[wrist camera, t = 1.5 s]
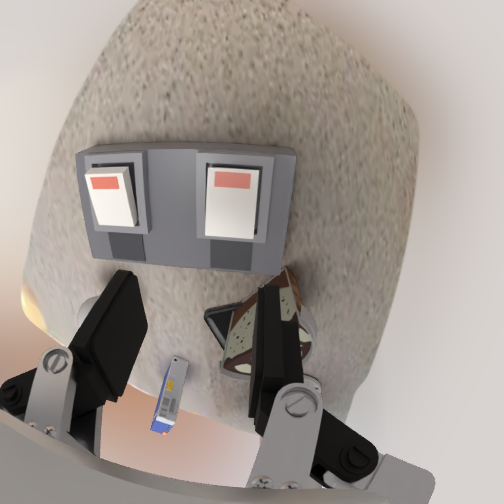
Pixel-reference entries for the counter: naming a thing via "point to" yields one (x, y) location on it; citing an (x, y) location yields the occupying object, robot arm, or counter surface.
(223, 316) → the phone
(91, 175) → the rocker
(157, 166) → the rocker switch panel
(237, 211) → the rocker
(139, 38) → the counter surface
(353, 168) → the counter surface
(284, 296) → the food container
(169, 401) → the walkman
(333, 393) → the counter surface
